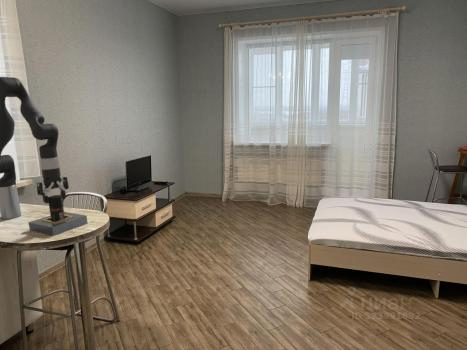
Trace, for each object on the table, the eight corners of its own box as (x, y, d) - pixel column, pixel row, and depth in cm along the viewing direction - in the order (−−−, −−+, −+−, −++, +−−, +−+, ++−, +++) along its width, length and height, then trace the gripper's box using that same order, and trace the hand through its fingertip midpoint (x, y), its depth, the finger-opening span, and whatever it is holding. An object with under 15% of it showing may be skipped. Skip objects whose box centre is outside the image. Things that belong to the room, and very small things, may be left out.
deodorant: (60, 229, 162) (55, 198, 159) (49, 228, 163) (44, 198, 160) (68, 224, 168) (64, 195, 165) (58, 224, 169) (53, 194, 166)
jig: (29, 230, 162) (28, 221, 161) (64, 218, 178) (63, 210, 177) (53, 235, 154) (51, 226, 153) (87, 223, 169) (86, 214, 168)
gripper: (59, 164, 168) (63, 196, 171) (30, 169, 156) (35, 203, 159) (69, 165, 164) (73, 198, 167) (40, 170, 152) (45, 205, 155)
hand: (55, 200), depth 163 cm, fingers open, 8 cm apart
